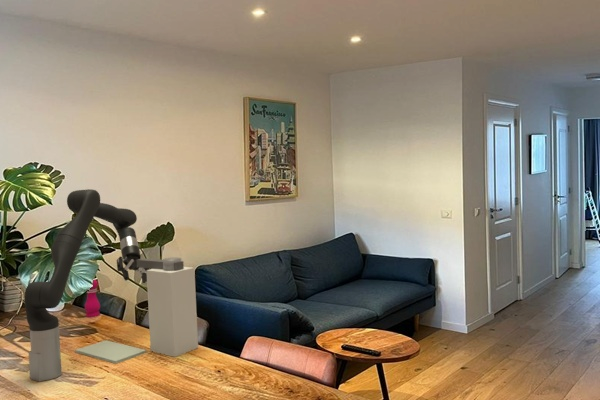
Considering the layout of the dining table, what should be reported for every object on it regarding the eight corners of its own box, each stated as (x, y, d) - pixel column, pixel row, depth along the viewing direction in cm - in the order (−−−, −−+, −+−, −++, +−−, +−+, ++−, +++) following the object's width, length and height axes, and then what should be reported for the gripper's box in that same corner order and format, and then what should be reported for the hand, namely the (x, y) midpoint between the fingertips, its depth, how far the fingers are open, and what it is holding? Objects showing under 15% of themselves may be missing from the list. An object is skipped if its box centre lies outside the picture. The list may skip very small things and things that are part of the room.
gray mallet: (173, 271, 205) (172, 260, 204) (133, 267, 216) (133, 257, 216) (186, 268, 211) (185, 258, 210) (147, 264, 222) (146, 255, 222)
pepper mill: (97, 317, 266) (94, 277, 265) (82, 317, 266) (80, 277, 265) (102, 313, 273) (100, 274, 272) (88, 314, 274) (86, 275, 273)
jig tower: (175, 357, 203) (170, 273, 201) (150, 351, 211) (146, 270, 209) (198, 347, 213) (194, 267, 211) (174, 342, 221) (170, 265, 219)
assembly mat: (115, 363, 198) (115, 361, 198) (75, 352, 213) (75, 349, 213) (146, 352, 209) (146, 350, 209) (105, 342, 224) (105, 340, 224)
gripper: (120, 241, 227) (125, 273, 218) (149, 247, 237) (155, 278, 228) (110, 251, 230) (115, 283, 221) (139, 257, 240) (145, 287, 231)
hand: (136, 280), depth 224 cm, fingers open, 8 cm apart
